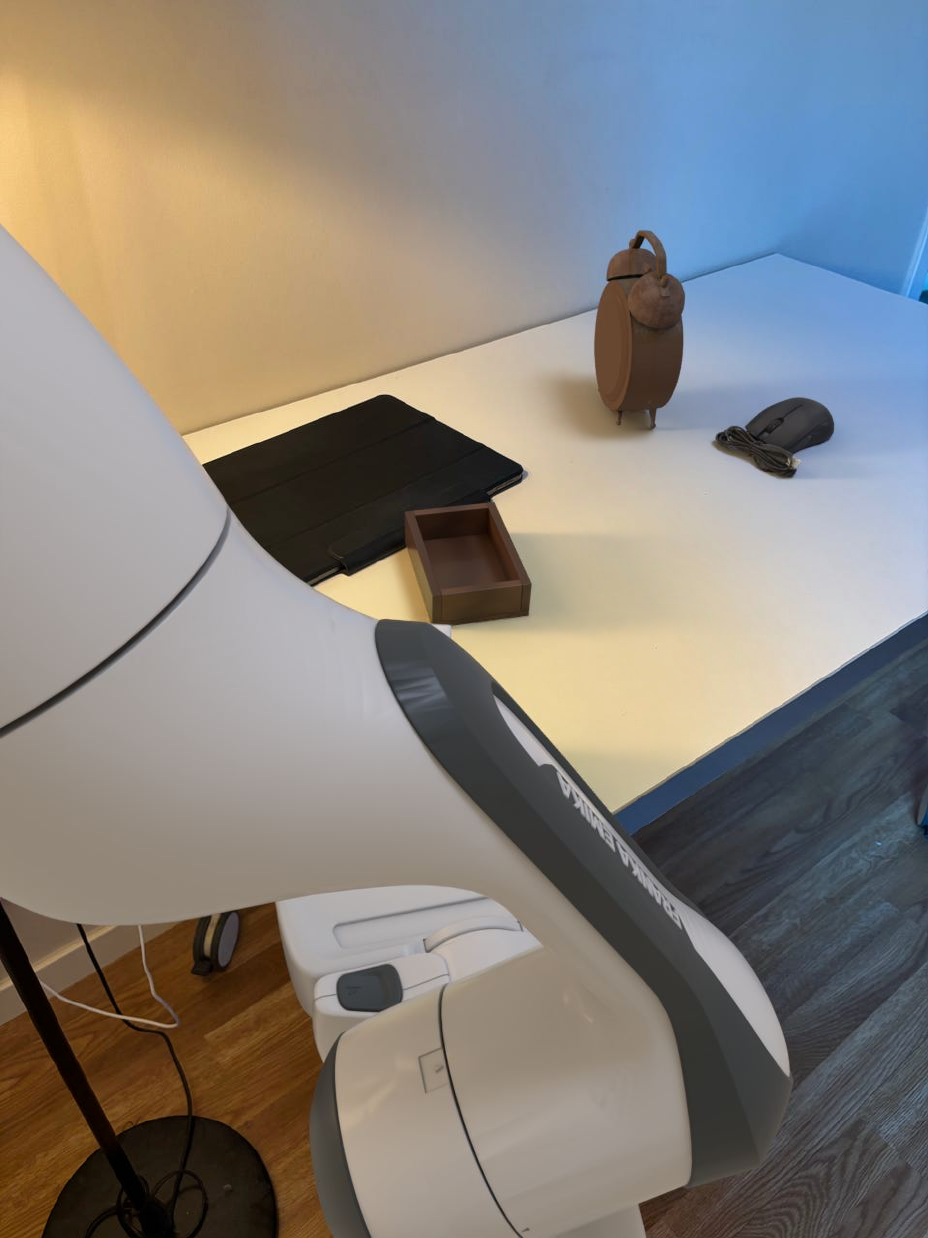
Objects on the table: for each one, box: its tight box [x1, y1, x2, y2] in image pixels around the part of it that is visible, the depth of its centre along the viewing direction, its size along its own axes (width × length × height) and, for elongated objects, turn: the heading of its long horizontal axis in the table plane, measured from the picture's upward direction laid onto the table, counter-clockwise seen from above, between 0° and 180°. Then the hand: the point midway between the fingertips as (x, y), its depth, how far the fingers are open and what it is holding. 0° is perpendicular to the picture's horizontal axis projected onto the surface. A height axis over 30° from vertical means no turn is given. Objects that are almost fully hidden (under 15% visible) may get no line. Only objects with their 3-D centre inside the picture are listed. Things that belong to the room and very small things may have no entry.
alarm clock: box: [593, 229, 686, 429], centre depth 105 cm, size 14×7×20 cm, turn 9°
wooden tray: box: [404, 501, 533, 626], centre depth 85 cm, size 9×13×4 cm
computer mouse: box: [714, 396, 835, 477], centre depth 106 cm, size 10×15×4 cm
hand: (431, 797), depth 59 cm, fingers open, 8 cm apart
